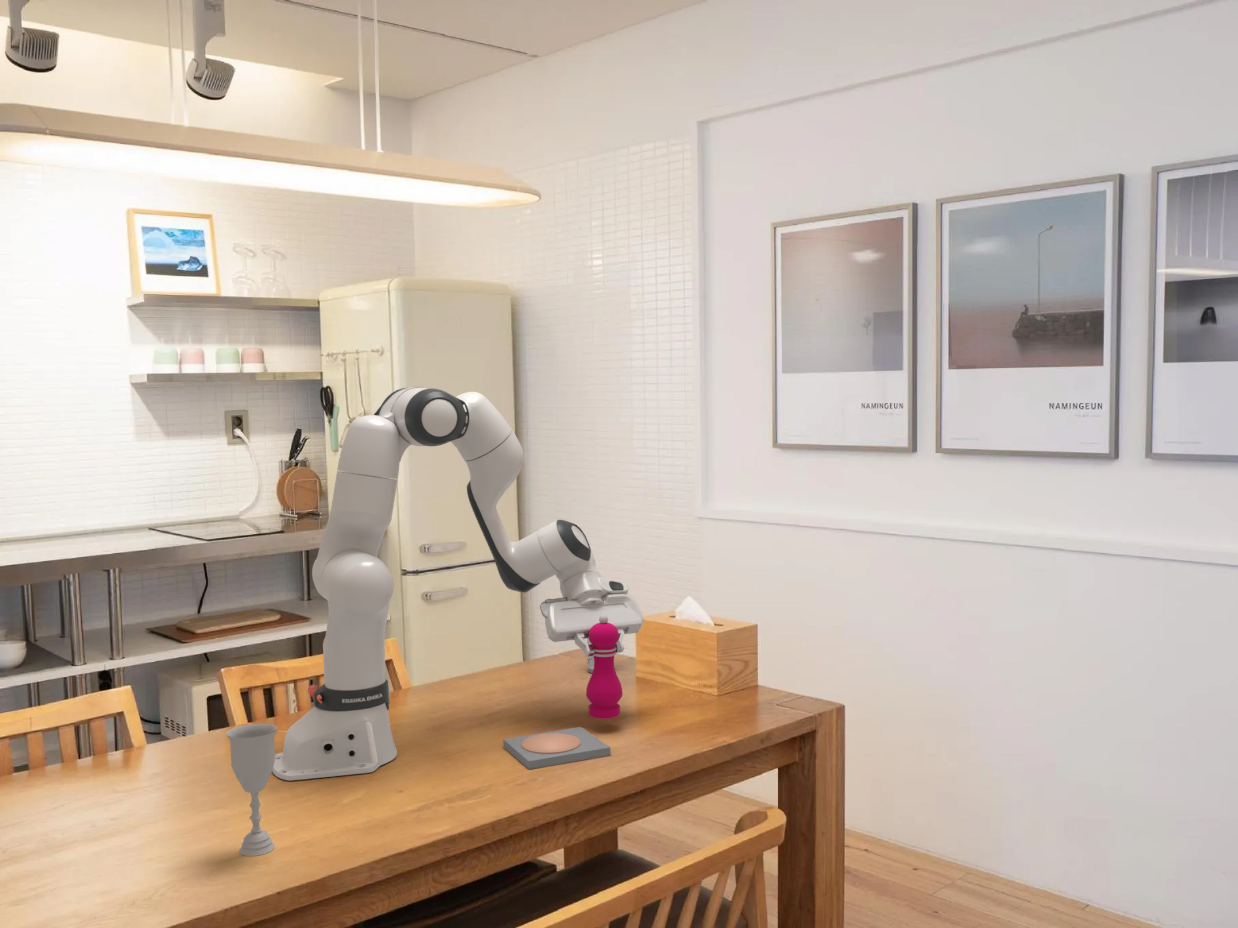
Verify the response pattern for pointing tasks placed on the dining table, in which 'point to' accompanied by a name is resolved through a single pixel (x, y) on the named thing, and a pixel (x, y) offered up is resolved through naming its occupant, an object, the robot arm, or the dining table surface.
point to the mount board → (556, 747)
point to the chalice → (253, 776)
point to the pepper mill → (604, 672)
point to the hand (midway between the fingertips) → (605, 652)
